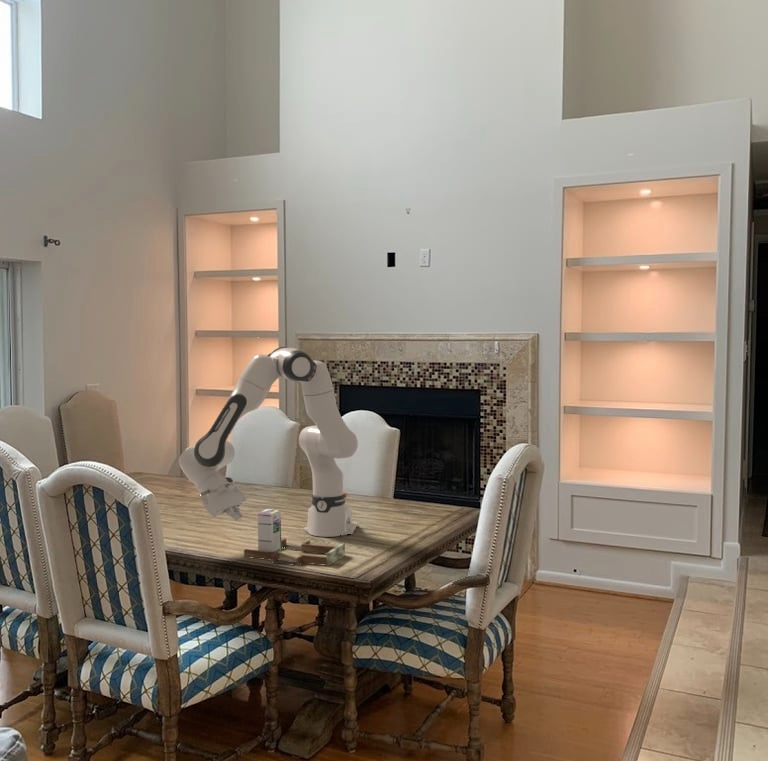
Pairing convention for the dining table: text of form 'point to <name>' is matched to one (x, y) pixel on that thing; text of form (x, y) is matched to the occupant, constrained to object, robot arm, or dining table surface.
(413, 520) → the dining table surface
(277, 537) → the syrup box
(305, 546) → the trap lane
